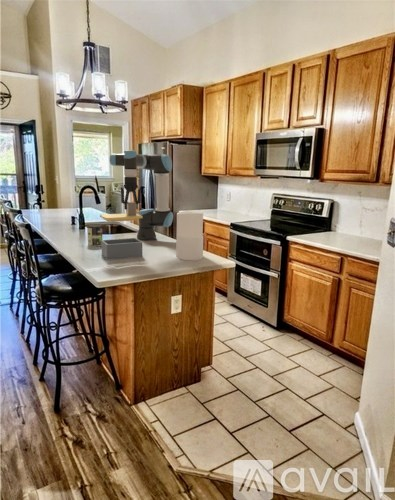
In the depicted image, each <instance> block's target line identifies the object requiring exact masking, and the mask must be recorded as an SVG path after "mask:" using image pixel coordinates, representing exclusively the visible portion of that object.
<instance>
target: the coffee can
mask: <svg viewBox="0 0 395 500" xmlns="http://www.w3.org/2000/svg"><path fill="white" fill-rule="evenodd" d="M86 227H87V228H86V230H87V246H88V247H102V246H101V240H104V239H103V225H102V224H87V226H86Z"/></svg>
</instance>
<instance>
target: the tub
mask: <svg viewBox="0 0 395 500" xmlns="http://www.w3.org/2000/svg"><path fill="white" fill-rule="evenodd" d="M100 247H101V256H102V257H104V258H105V259H106V260H108V261H109V260H121V259H129V258H130V259H132V258H142V257H143V241H142V240H139V239H137V237H131V238H127V237H126V238H115V239H114V238H113V239H103V240H101V246H100Z"/></svg>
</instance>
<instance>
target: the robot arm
mask: <svg viewBox="0 0 395 500" xmlns="http://www.w3.org/2000/svg"><path fill="white" fill-rule="evenodd" d="M109 164H110V165H111V166H115V167H123V168H124V170H123V171H124V172H123V173H124V175H123V176H124V178H123V179H124V184H123V186H120V187H119V189H120V203H121V204H123V205H124V210H125V214H126V215H128V204H127V202H129V196H130V193H132V196H133V202H136V210H138V208H139V207H138V206H139V204H140V203H141V202H142V199H141V198H142V188H143V187H142V186H139V185H138V177H137V176H138V173H137V172H138V170H137V169H143V170H147V171H153V174H154V175H155V186H156V188H155V189H156V193H155V194H156V208H155V209H154V208H145V209H141V210H139V212H138V215H141V216H143V218H139V220H138V230H137V234H136V239H138V240H140V241H152V240H156V239H157V235H156V231H155V227H162V228H168V227H171V225H172V223H173V220H174V213H173V212H172V211H171V208H169V184H168V183H169V182H168V176H169V175H170V171H172V170H173V160H172V158H171V156H170V154H169V155H168V154H164V153H163V154H162V153H161V154H160V153H159V154H158V153H157V154H155V153H148V154H140V153H137V150H131V149H126V150H124V151H123V153H111V154H110V155H109ZM136 190H137V192H136Z"/></svg>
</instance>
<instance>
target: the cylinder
mask: <svg viewBox="0 0 395 500" xmlns="http://www.w3.org/2000/svg"><path fill="white" fill-rule="evenodd" d="M203 225H204V212H200V211H178V212H177V213H176V237H175V238H176V244H175V245H176V246H175V247H176V248H175V257H176V258H177V259H179V260H185V261H196V260H201V259H203V257H204V237H205V236H204V234H203V230H204V229H203V228H204V226H203Z"/></svg>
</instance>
